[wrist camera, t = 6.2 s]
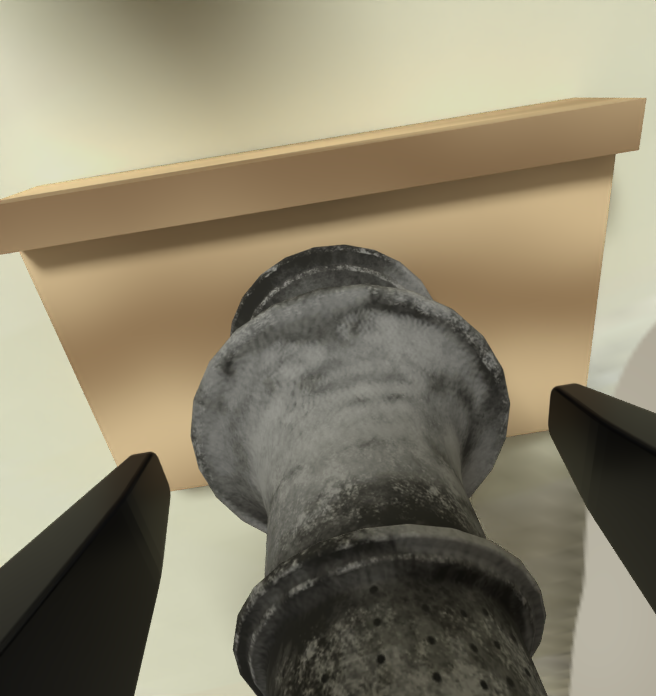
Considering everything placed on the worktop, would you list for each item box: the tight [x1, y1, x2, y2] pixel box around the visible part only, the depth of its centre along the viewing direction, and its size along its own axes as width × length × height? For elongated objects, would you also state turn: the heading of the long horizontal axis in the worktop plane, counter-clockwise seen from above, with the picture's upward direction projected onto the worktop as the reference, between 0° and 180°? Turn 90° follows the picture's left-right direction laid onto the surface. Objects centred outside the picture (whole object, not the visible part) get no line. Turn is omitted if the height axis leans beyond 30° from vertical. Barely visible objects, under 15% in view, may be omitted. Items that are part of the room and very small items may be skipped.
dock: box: [0, 98, 646, 491], centre depth 13 cm, size 9×14×3 cm, turn 98°
